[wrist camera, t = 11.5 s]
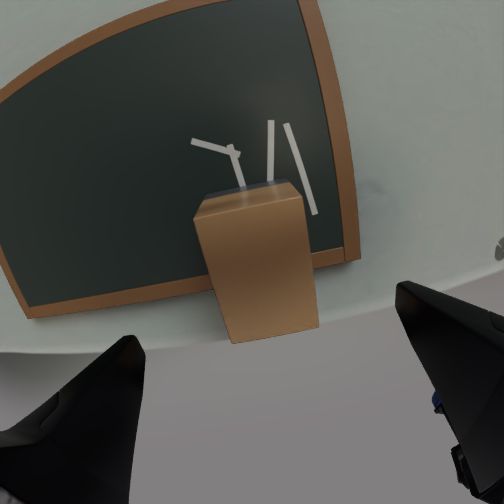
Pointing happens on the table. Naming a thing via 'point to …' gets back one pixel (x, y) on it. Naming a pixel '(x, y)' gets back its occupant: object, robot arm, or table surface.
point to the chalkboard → (166, 148)
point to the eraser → (259, 259)
